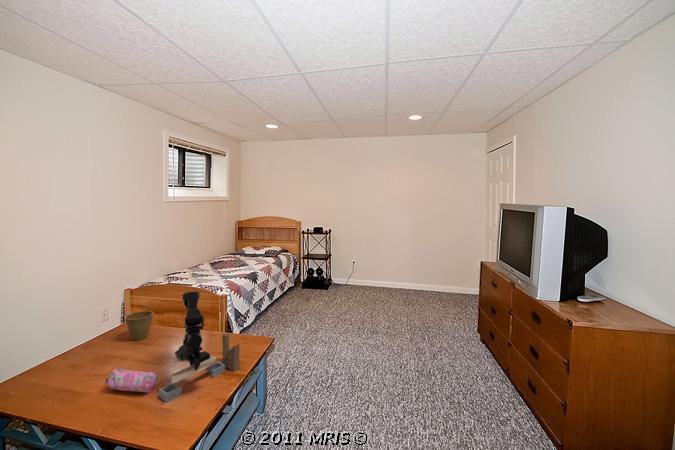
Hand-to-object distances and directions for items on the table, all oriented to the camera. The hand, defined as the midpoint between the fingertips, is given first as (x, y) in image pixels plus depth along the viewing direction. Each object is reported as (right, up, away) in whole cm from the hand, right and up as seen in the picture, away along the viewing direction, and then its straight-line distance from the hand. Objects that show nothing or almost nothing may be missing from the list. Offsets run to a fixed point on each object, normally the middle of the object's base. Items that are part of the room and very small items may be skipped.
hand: (194, 369), depth 141 cm
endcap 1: (-6, -8, -9) cm, 13 cm away
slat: (0, -1, 0) cm, 1 cm away
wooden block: (+12, -7, +15) cm, 21 cm away
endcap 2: (+6, -7, +9) cm, 13 cm away
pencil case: (-27, -8, -5) cm, 29 cm away
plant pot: (-60, -4, +47) cm, 76 cm away
